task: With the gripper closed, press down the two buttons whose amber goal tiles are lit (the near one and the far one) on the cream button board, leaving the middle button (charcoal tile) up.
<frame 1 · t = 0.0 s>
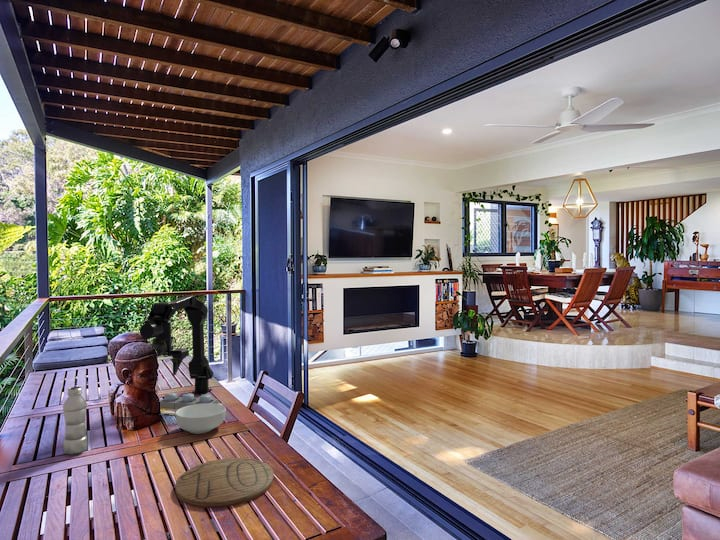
hand: (163, 374, 182), 15 cm above the table, fingers open, 9 cm apart
cereal bowl: (201, 430, 163), on the table
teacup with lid: (146, 399, 200), on the table
board: (186, 409, 185), on the table
button 3: (205, 399, 185), point 4 cm above the table, slide at 0.0 cm
plastic bottle: (75, 453, 144), on the table
button 2: (188, 398, 186), point 4 cm above the table, slide at 0.0 cm
trivet: (225, 485, 124), on the table
button 1: (170, 397, 187), point 4 cm above the table, slide at 0.0 cm
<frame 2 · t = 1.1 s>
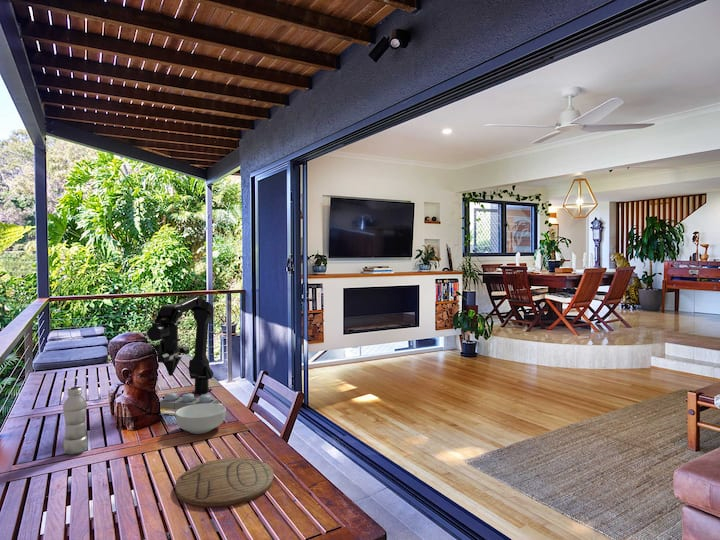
hand: (170, 375, 187), 13 cm above the table, fingers closed
nothing on the table moved.
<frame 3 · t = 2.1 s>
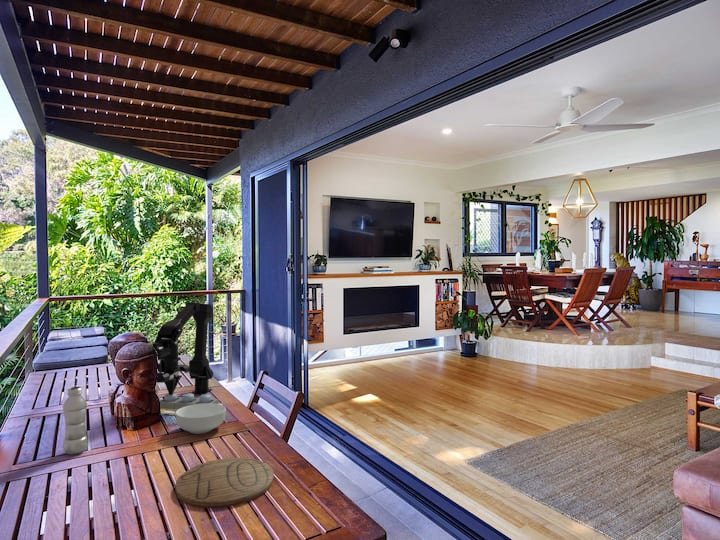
hand: (171, 394, 187), 5 cm above the table, fingers closed, pressing on button 1
button 1: (171, 398, 187), point 4 cm above the table, slide at 0.2 cm, touching gripper
everything else where it was.
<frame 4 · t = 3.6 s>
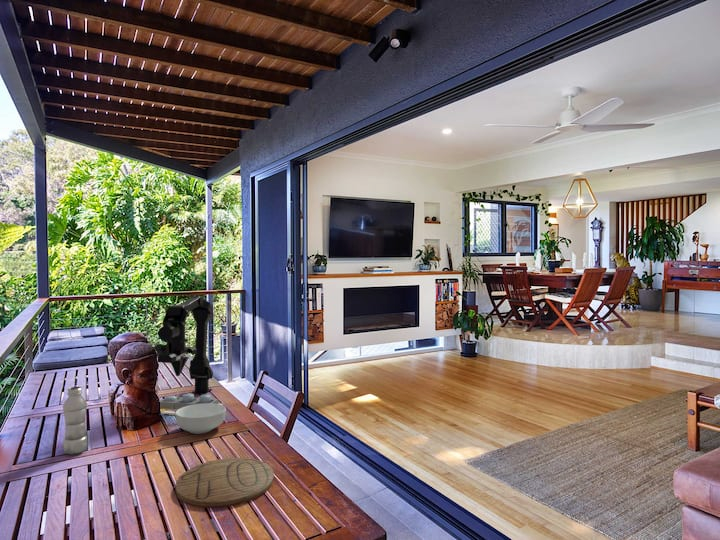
hand: (177, 375, 186), 13 cm above the table, fingers closed
button 1: (171, 400, 187), point 3 cm above the table, slide at 1.2 cm
everything else where it was.
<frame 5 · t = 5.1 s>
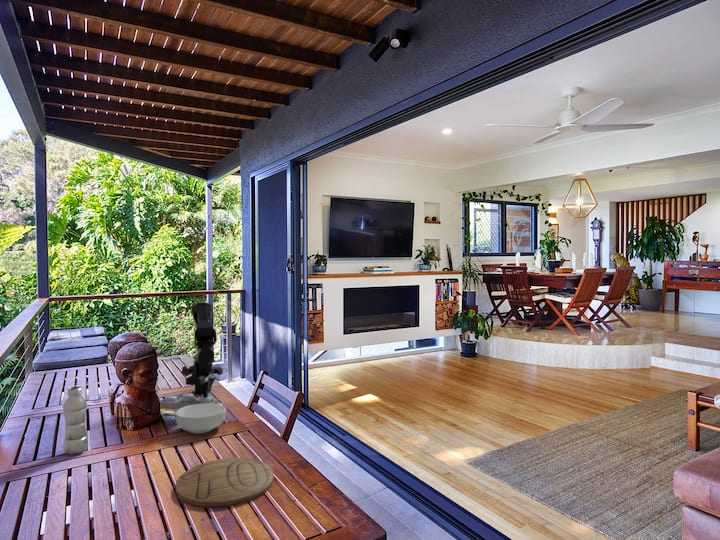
hand: (205, 397, 185), 5 cm above the table, fingers closed, pressing on button 3
button 3: (205, 401, 185), point 4 cm above the table, slide at 0.5 cm, touching gripper
everything else where it was.
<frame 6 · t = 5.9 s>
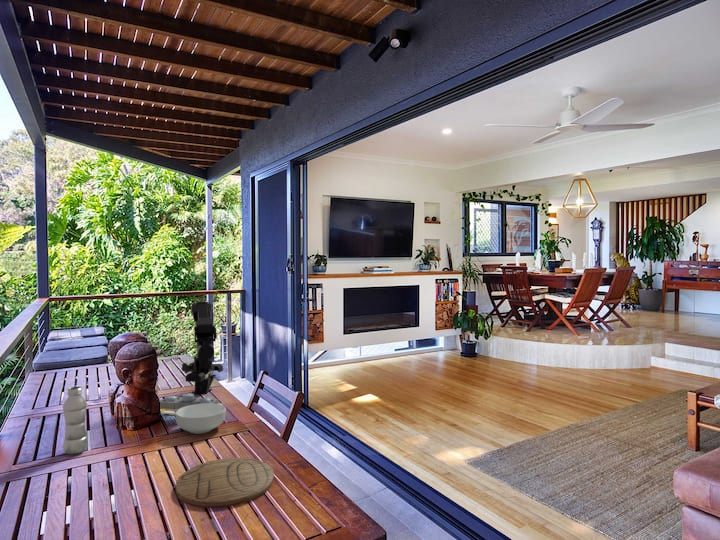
hand: (205, 394, 184), 6 cm above the table, fingers closed
button 3: (205, 402, 185), point 3 cm above the table, slide at 1.2 cm
everything else where it was.
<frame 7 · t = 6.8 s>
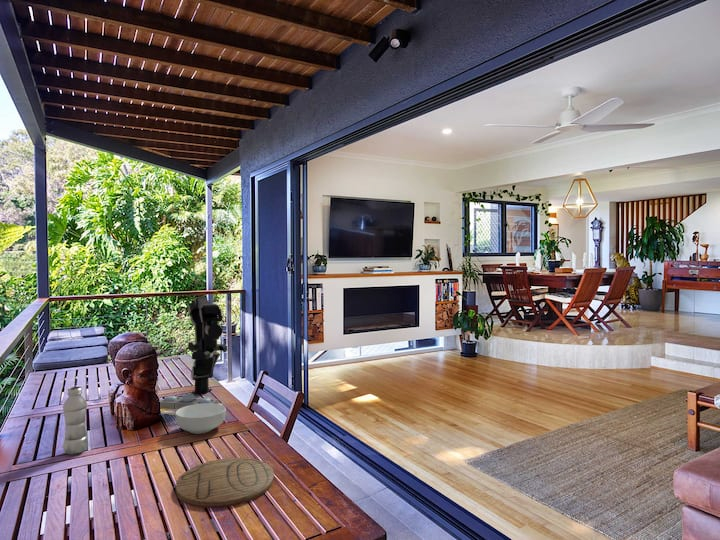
hand: (210, 372, 193), 13 cm above the table, fingers closed
nothing on the table moved.
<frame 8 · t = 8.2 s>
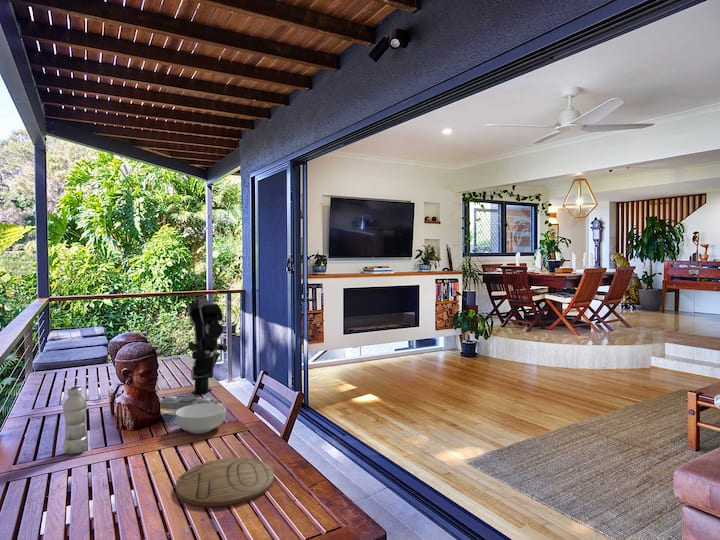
hand: (210, 371, 194), 13 cm above the table, fingers closed
nothing on the table moved.
at the end: button 1 slide at 1.2 cm; button 3 slide at 1.2 cm; button 2 slide at 0.0 cm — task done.
